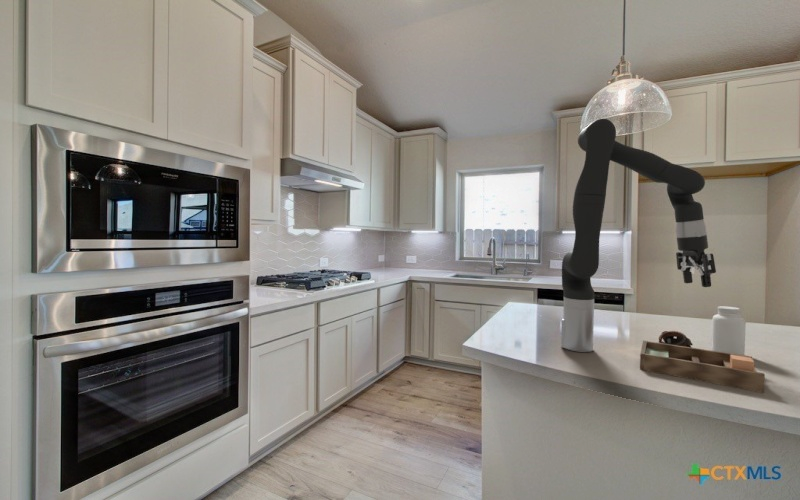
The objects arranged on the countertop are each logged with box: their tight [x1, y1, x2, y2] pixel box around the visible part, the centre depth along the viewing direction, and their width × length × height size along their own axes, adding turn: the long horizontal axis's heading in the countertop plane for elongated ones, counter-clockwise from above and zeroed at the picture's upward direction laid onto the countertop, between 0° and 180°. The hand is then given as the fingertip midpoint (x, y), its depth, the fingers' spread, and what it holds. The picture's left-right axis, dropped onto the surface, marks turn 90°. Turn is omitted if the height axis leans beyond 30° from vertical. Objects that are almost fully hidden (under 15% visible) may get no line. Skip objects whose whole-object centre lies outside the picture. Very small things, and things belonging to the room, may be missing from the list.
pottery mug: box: [658, 330, 693, 348], centre depth 115 cm, size 12×10×8 cm
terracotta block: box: [730, 355, 755, 371], centre depth 91 cm, size 4×4×4 cm
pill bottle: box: [711, 305, 747, 355], centre depth 115 cm, size 8×8×15 cm
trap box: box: [639, 339, 766, 393], centre depth 100 cm, size 25×16×4 cm, turn 53°
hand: (697, 284), depth 114 cm, fingers open, 8 cm apart
